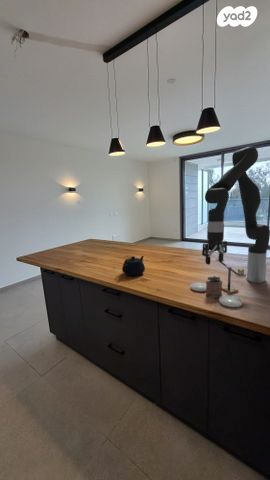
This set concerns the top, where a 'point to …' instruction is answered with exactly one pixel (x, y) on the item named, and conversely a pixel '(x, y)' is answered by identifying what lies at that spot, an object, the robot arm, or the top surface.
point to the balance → (239, 274)
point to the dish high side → (198, 286)
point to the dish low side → (230, 301)
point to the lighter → (214, 287)
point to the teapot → (133, 266)
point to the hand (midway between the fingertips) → (214, 262)
